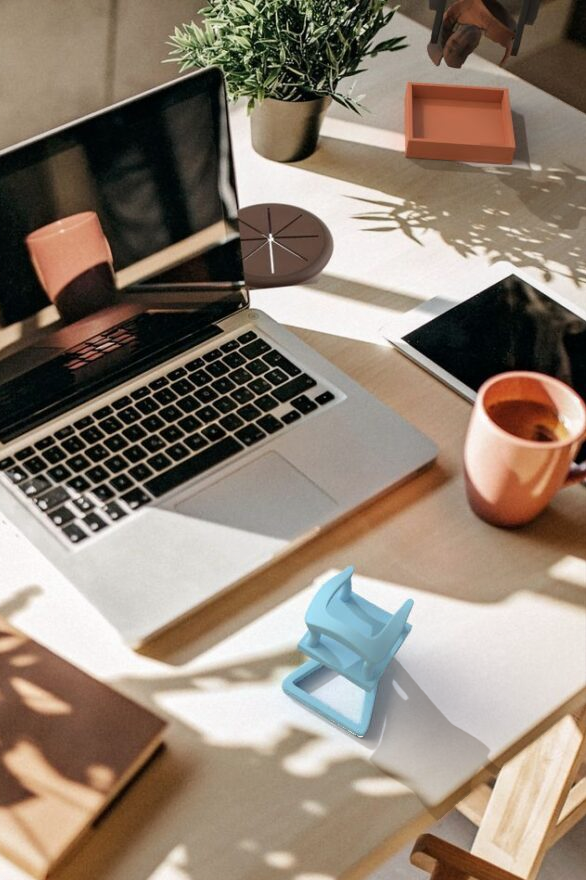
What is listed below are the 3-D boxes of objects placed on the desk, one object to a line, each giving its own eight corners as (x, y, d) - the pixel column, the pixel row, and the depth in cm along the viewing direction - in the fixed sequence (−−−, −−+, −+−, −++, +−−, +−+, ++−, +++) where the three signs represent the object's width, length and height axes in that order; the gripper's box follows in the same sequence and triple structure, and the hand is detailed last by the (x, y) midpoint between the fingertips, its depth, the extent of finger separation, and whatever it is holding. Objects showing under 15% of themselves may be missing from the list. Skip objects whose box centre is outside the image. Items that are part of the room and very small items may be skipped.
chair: (411, 662, 81) (437, 587, 71) (361, 740, 77) (381, 672, 67) (332, 616, 83) (346, 537, 74) (279, 689, 79) (287, 616, 70)
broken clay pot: (431, 33, 123) (477, -25, 117) (486, 85, 124) (533, 30, 118) (406, 55, 114) (454, -7, 108) (465, 111, 115) (515, 53, 109)
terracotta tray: (504, 105, 129) (508, 88, 127) (511, 164, 122) (515, 147, 120) (404, 98, 130) (407, 81, 128) (405, 157, 122) (408, 140, 120)
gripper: (612, -136, 111) (562, 70, 115) (426, -160, 114) (384, 42, 118) (626, -172, 104) (572, 50, 108) (427, -196, 107) (382, 20, 111)
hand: (474, 45), depth 113 cm, fingers closed on broken clay pot, 9 cm apart
